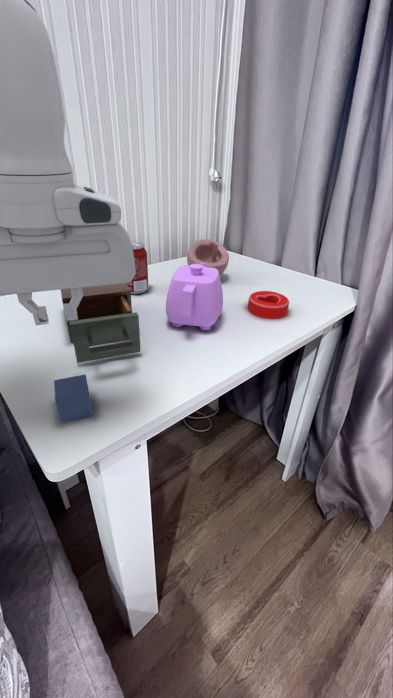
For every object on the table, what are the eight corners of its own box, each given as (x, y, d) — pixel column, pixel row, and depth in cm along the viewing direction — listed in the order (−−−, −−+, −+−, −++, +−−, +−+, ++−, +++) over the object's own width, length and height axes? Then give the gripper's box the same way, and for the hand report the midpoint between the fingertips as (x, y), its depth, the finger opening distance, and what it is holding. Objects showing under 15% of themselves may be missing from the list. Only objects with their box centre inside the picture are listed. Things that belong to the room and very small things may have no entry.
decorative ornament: (272, 322, 76) (274, 310, 74) (239, 308, 82) (241, 296, 80) (294, 311, 82) (297, 299, 80) (263, 298, 88) (264, 287, 86)
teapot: (215, 344, 67) (220, 285, 60) (156, 336, 69) (154, 278, 62) (225, 304, 84) (230, 254, 77) (178, 298, 85) (178, 249, 79)
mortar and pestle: (194, 287, 92) (195, 246, 86) (181, 273, 101) (182, 234, 95) (233, 284, 95) (237, 243, 89) (217, 270, 105) (220, 233, 99)
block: (60, 423, 47) (54, 399, 45) (59, 403, 51) (53, 380, 48) (93, 415, 49) (89, 392, 47) (89, 396, 52) (85, 373, 50)
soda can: (151, 293, 87) (149, 248, 81) (125, 296, 85) (122, 250, 79) (145, 284, 92) (143, 240, 86) (120, 287, 90) (116, 242, 84)
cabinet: (133, 333, 70) (130, 290, 64) (70, 343, 65) (61, 298, 60) (120, 304, 81) (116, 266, 76) (65, 311, 77) (57, 271, 71)
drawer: (147, 366, 58) (145, 327, 54) (80, 379, 55) (72, 338, 50) (125, 320, 73) (123, 286, 68) (71, 327, 69) (64, 292, 65)
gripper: (-100, 211, 28) (-44, 347, 36) (135, 205, 35) (141, 320, 43) (-80, 199, 33) (-35, 321, 41) (123, 196, 40) (130, 301, 48)
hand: (57, 320), depth 42 cm, fingers closed
